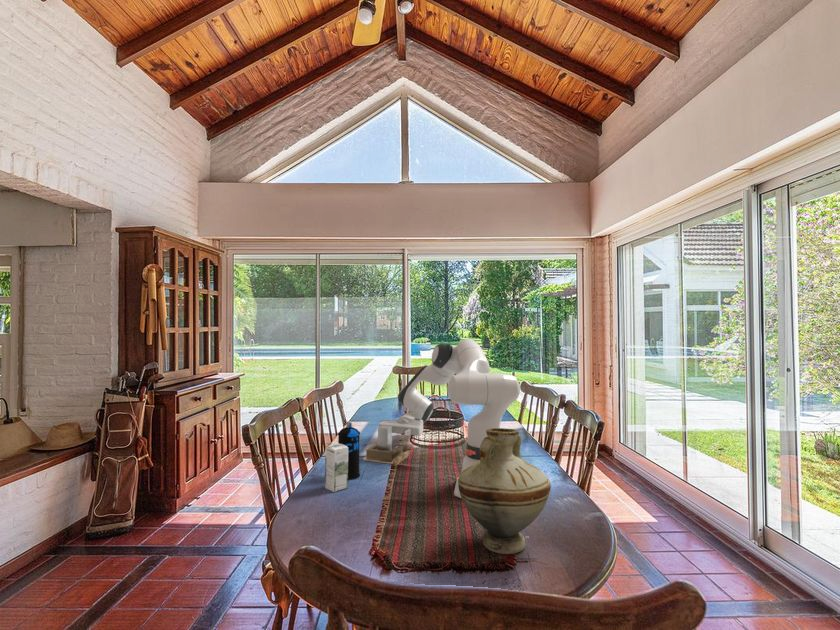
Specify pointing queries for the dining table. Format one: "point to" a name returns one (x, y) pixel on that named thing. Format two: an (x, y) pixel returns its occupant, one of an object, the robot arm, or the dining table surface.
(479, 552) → the dining table surface
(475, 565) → the dining table surface
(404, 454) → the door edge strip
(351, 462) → the aerosol can
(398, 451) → the keeper
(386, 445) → the bar
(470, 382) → the robot arm
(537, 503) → the amphora
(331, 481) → the syrup box
